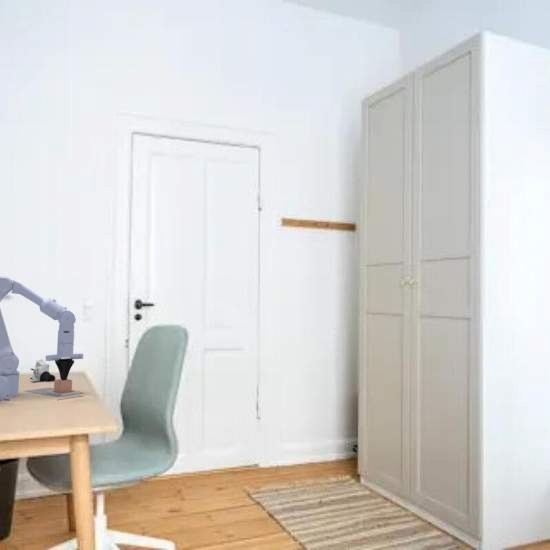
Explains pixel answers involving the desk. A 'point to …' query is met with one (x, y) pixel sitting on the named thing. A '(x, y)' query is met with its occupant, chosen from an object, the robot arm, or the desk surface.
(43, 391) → the board
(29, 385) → the desk surface
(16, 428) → the desk surface
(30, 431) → the desk surface
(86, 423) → the desk surface
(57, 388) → the block
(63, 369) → the robot arm
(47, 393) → the locating frame
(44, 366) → the toy
